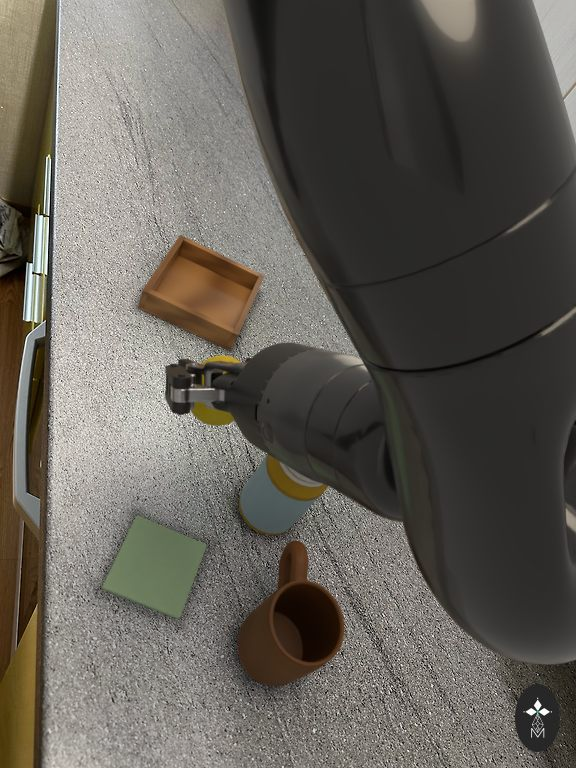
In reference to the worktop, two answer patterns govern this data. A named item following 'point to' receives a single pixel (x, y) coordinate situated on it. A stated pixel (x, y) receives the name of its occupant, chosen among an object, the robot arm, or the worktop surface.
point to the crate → (201, 292)
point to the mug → (291, 625)
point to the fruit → (210, 414)
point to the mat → (155, 567)
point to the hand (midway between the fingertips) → (216, 370)
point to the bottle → (276, 497)
